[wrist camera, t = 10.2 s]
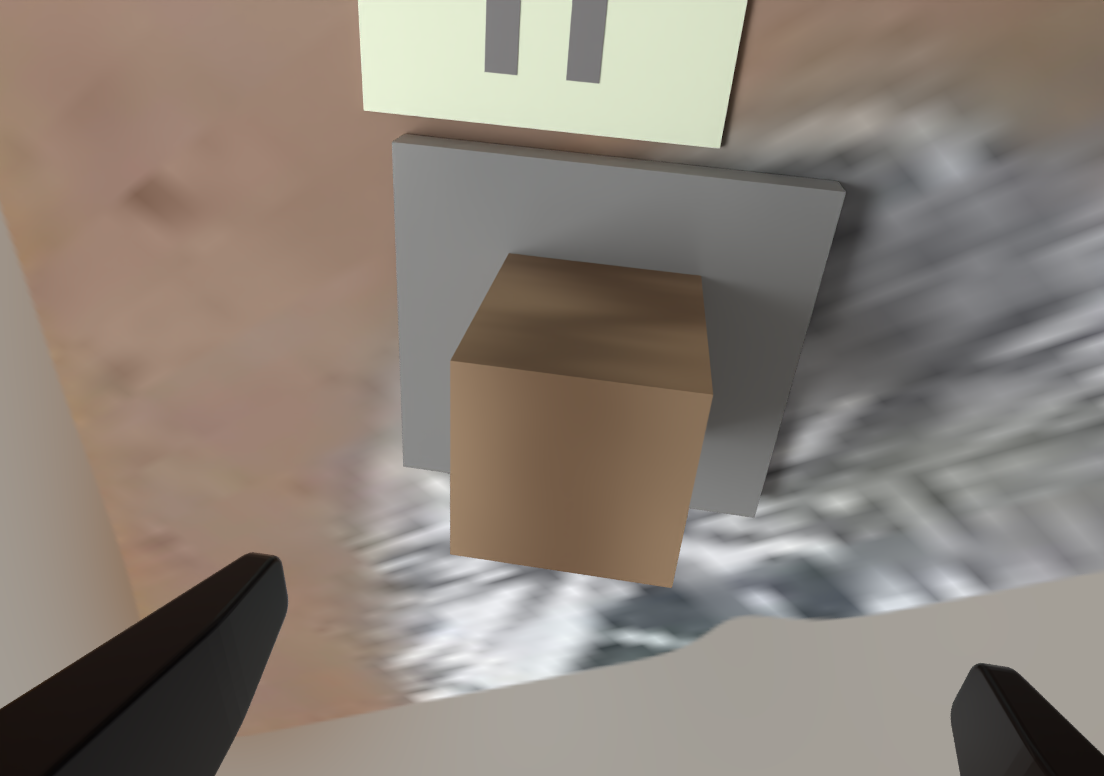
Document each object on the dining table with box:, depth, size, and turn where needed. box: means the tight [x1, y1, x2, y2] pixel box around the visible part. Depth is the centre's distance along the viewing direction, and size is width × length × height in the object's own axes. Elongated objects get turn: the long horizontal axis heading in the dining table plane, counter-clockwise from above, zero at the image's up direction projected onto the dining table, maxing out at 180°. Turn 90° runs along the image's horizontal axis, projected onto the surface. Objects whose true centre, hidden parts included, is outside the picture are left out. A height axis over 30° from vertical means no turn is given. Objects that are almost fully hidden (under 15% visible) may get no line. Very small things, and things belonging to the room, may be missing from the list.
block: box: [450, 253, 713, 588], centre depth 18 cm, size 5×5×6 cm
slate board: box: [392, 134, 846, 518], centre depth 21 cm, size 11×10×1 cm
